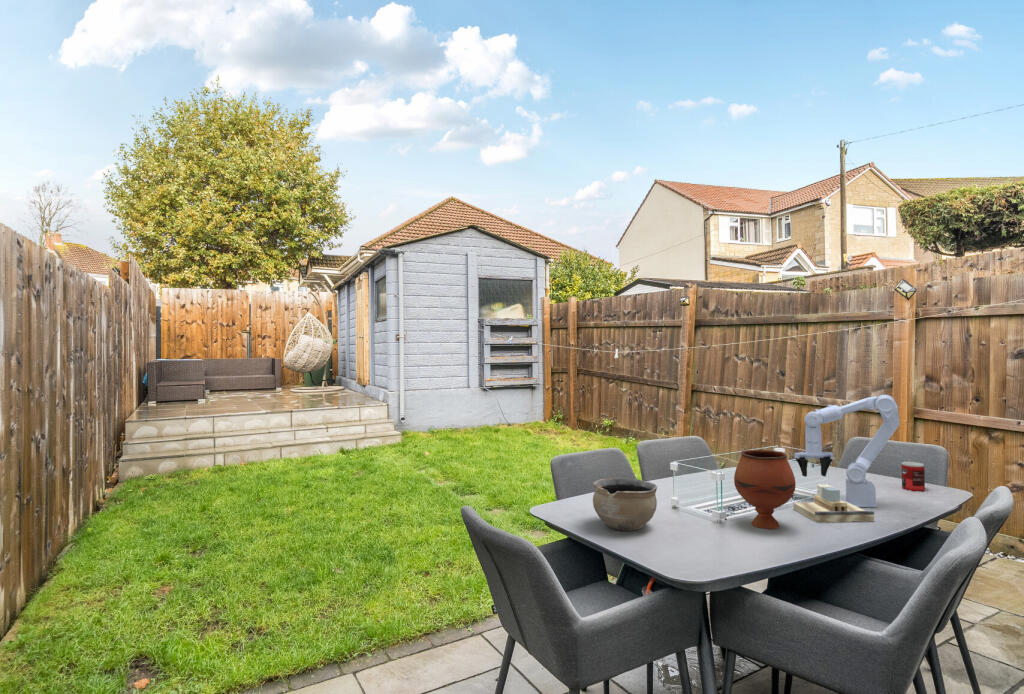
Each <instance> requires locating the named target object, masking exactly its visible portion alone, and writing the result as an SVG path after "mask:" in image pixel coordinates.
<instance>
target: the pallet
mask: <svg viewBox="0 0 1024 694" xmlns="http://www.w3.org/2000/svg"><path fill="white" fill-rule="evenodd" d="M813 497H814V502H815V504H817V505H819V506H821V507H823V508H825V509H827V510H829V511H835V510H836V511H841V510H842V511H847V503H846V502H844V501H842V500H843V499H842V500H841V499H840V501H833V502H829V501H827V500H825V499H823V498H821V497H819V496H818V495H817V494H816V495H815V494H814V495H813Z"/></svg>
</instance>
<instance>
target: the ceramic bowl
mask: <svg viewBox="0 0 1024 694" xmlns="http://www.w3.org/2000/svg"><path fill="white" fill-rule="evenodd" d="M592 485H593V488H594V493H593V495H592V504H593V509H594V511H595V513H596V514H597V516H598V518H599V519H600V521H601V522H603V523H604V524H605V525H606V526H608V527H609V528H612V529H613V530H618V531H634V530H635V531H636V530H639V529H641V528H642V527H644V526H646V525H647V524H648V523H649V522H650V520H652V519H653V517H654V514H655V512H656V511H657V506H658V505H657V504H658V501H657V496H656V492H657V489H658V485H657V484H656V483H653V482H650V481H645V480H643V479H642V480H641V479H639V478H638V479H637V478H626V477H625V478H624V477H611V478H610V477H609V478H601V479H597V480H595V481H593V484H592Z"/></svg>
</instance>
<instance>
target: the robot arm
mask: <svg viewBox="0 0 1024 694" xmlns="http://www.w3.org/2000/svg"><path fill="white" fill-rule="evenodd" d="M864 409H866V410H872V411H875V409H876V410H877V411H878V413H879V414H880V415H881V418H882V421H883V422H882V424H881V425H880V426H879V428H878V430H876V432H875V433H874V435H873V436H872V438H871V439H870V441H869V442H868V443H867V445H866V446H865V447H864V449H863V450H862V452H861V453H860V455H858V457H857V458H856V459H855V460H854V461H852V462H851V463H849V464H848V465H847V469H846V471H845V475H846V477H847V478H845V500H844V499H842V501H844V502H848V503H850V504H852V505H854V506H857V507H859V508H875V507H876V508H877V507H878V505H877V499H876V498H877V490H876V487H875V484H874V483H873V482H872V481H869V480H868V479H866V475H867V474H866V473H867V471H868V470H869V468H870V466H871V465H872V463H873V461H875V459H876V458H877V456H878V455H879V454H880V453H881V451H882V450H883V448H884V447H885V446H886V444H887V443H888V441H889V440H890V438H892V436H893V434H894V433H895V432H896V430H897V429H898V428H899V426H900V414H899V407H898V404H897V403H896V400H895V398H894V397H893V396H891V395H889V394H880V395H879V396H877V395H876V396H869V397H866V398H862V399H859V400H856V401H854V402H850V403H848V404H844V405H841V406H839V405H836V404H833V405H832V404H828V405H827V406H826V407H824V408H821V409H818V408H815V409H814V410H815V411H809V412H807V414H806V415H805V416H804V423H805V429H804V431H805V433H804V437H805V439H804V440H805V451H802V452H793V453H794V458H795V460H796V462H797V463H798V465H799V468H800V471H801V475H802V477H806V478H807V477H808V464H809V460H808V459H817V458H818V459H819V462H820V474H821V475H820V476H823V477H827V473H828V470H829V468H830V466H831V464H832V462H833V458H834V452H831V451H830V452H828V451H822V450H823V448H822V445H823V443H822V429H821V428H822V427H821V424H824V425H825V424H828V423H831V422H835V421H838V420H841V419H842V417H843V415H846V414H850V413H853V412H856V411H862V410H864Z"/></svg>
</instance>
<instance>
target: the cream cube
mask: <svg viewBox="0 0 1024 694" xmlns="http://www.w3.org/2000/svg"><path fill="white" fill-rule="evenodd" d="M816 486H817V487H816V488H817V492H816V493H817V494H816V495H818V496H819V497H821V498H823V488H834V487H833V486H832V485H830V484H820V483H819V484H817V485H816Z"/></svg>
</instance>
